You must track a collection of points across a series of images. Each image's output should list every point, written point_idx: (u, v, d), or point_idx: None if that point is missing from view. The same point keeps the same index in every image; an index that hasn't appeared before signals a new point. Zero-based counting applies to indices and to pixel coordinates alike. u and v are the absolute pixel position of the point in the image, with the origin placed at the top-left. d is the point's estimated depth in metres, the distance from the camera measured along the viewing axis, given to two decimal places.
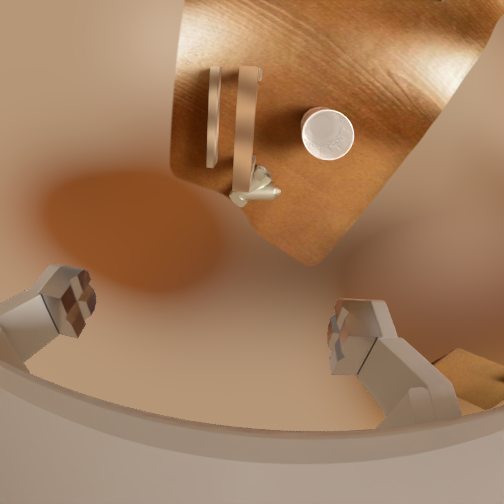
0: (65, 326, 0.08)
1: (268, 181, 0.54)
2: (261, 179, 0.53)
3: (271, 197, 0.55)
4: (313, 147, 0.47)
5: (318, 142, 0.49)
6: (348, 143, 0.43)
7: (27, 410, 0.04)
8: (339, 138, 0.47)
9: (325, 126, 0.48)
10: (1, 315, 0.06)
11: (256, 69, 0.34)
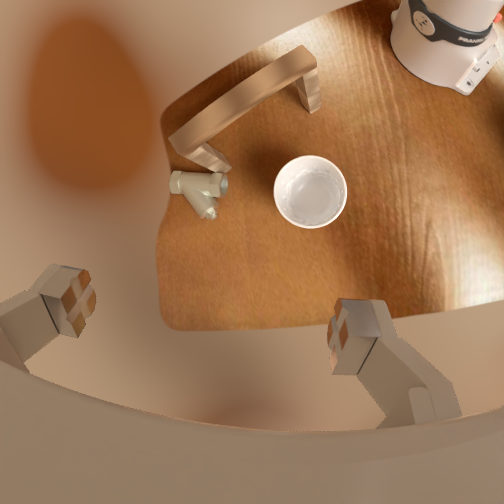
0: (65, 326, 0.08)
1: (215, 194, 0.42)
2: (212, 184, 0.41)
3: (201, 211, 0.42)
4: (284, 200, 0.36)
5: (295, 210, 0.40)
6: (320, 223, 0.32)
7: (27, 410, 0.04)
8: (318, 222, 0.37)
9: (317, 204, 0.39)
10: (1, 315, 0.06)
11: (311, 58, 0.26)
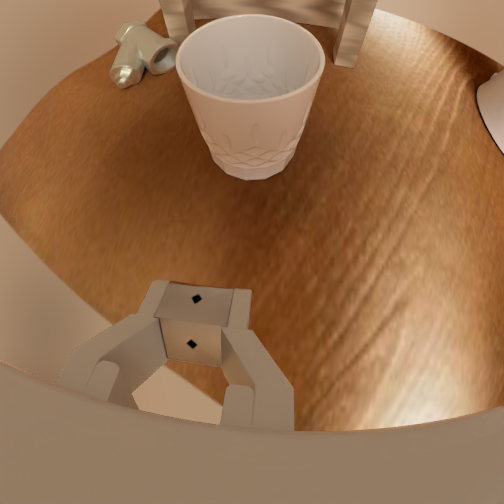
0: (181, 351, 0.08)
1: (147, 56, 0.22)
2: (154, 42, 0.22)
3: (115, 64, 0.22)
4: (206, 77, 0.17)
5: None
6: None
7: (27, 410, 0.04)
8: None
9: None
10: (111, 348, 0.06)
11: None
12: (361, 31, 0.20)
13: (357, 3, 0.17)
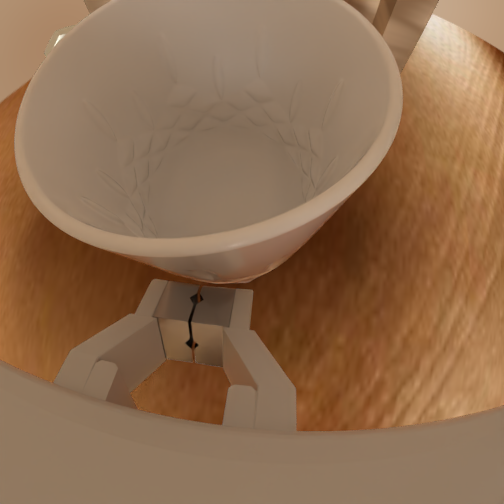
0: (179, 350, 0.08)
1: None
2: None
3: None
4: (132, 107, 0.09)
5: (157, 186, 0.12)
6: (98, 227, 0.05)
7: (27, 410, 0.04)
8: None
9: (224, 218, 0.12)
10: (110, 348, 0.06)
11: None
12: (412, 35, 0.11)
13: None
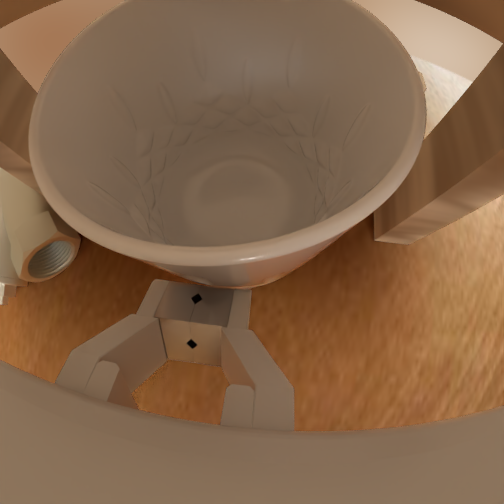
0: (181, 351, 0.08)
1: (16, 264, 0.11)
2: (18, 236, 0.11)
3: None
4: (157, 98, 0.09)
5: (172, 179, 0.12)
6: (97, 218, 0.05)
7: (27, 410, 0.04)
8: None
9: (232, 223, 0.12)
10: (111, 348, 0.06)
11: None
12: (458, 213, 0.09)
13: (489, 172, 0.06)
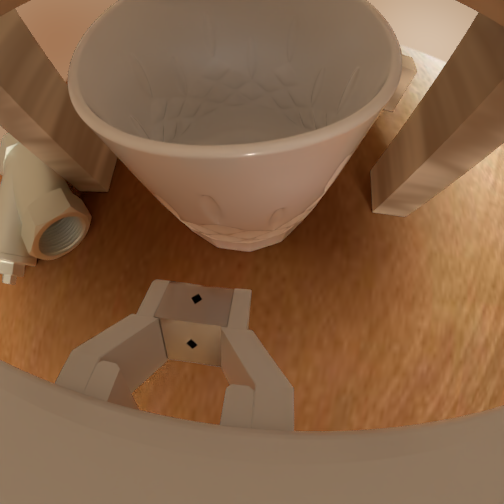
0: (181, 351, 0.08)
1: (26, 241, 0.12)
2: (31, 212, 0.11)
3: None
4: (171, 70, 0.10)
5: None
6: None
7: (27, 410, 0.04)
8: None
9: None
10: (111, 348, 0.06)
11: None
12: (449, 176, 0.10)
13: (472, 129, 0.07)
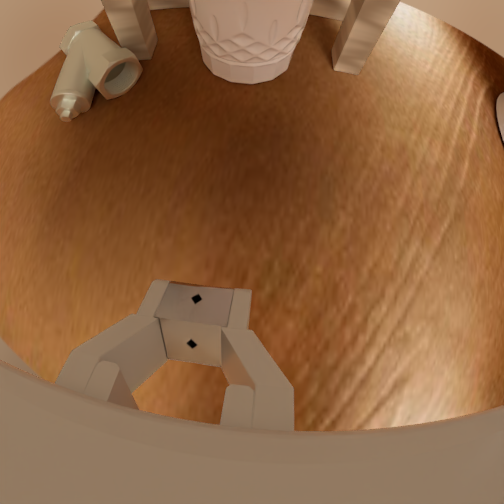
0: (181, 351, 0.08)
1: (95, 78, 0.16)
2: (104, 57, 0.15)
3: (56, 90, 0.15)
4: None
5: None
6: None
7: (27, 410, 0.04)
8: None
9: None
10: (111, 348, 0.06)
11: None
12: (375, 32, 0.14)
13: None
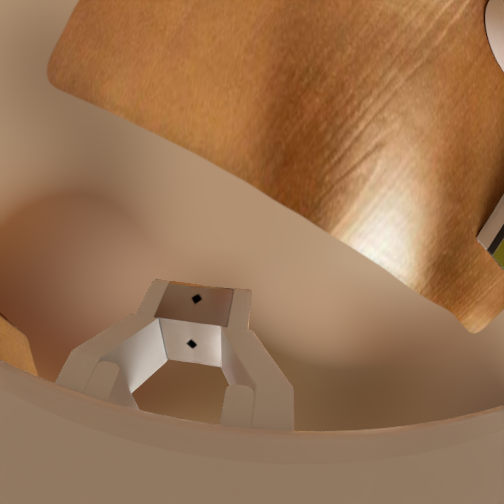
0: (181, 351, 0.08)
1: None
2: None
3: None
4: None
5: None
6: None
7: (27, 410, 0.04)
8: None
9: None
10: (111, 348, 0.06)
11: None
12: None
13: None
